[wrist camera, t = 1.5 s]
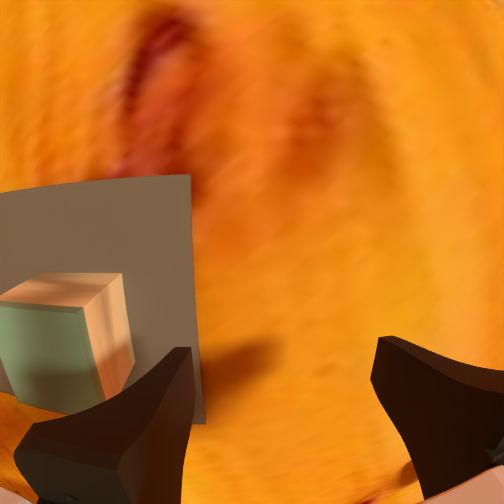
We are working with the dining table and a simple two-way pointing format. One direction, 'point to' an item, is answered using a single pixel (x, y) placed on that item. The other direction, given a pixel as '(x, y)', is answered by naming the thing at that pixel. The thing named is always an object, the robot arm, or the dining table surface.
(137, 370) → the rubber mat
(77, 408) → the birch block
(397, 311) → the dining table surface
